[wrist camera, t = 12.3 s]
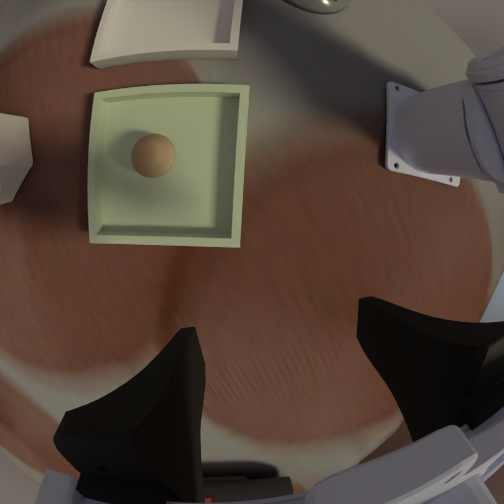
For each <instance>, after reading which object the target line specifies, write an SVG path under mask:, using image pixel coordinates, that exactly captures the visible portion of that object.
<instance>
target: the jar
mask: <svg viewBox="0 0 504 504" xmlns="http://www.w3.org/2000/svg"><path fill="white" fill-rule="evenodd" d="M32 165H33V157H32V149H31V141H30V132H29V120H28V118H27V117H22V116H16V115H10V114H4V113H0V205H1V204H4V203H9V202H12V201H13V199H14V197H15V195H16V193H17V191H18V189H19V187H20V185H21V184H22V182H23V180H24V178H25V177H26V175H27V173H28V171H29V170H30V168H31V166H32Z"/></svg>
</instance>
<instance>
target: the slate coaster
mask: <svg viewBox="0 0 504 504" xmlns="http://www.w3.org/2000/svg"><path fill="white" fill-rule="evenodd" d="M286 1H287V2H288V3H290V4H292V5H293V6H295V7H297V8H300V9H302V10H305V11H308V12H312V13H317V14H333V13H337V12H340V11H342V10H343V9H344V8H345V7H346V6H347V5H348V4H349V2H350V0H338V1H333V0H286Z"/></svg>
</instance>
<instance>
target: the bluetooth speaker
mask: <svg viewBox="0 0 504 504" xmlns="http://www.w3.org/2000/svg"><path fill="white" fill-rule="evenodd" d="M203 488H204V496H205V503H223V502H239V501H250V500H259V499H267V498H274V497H280V496H286V495H292V494H293V487H292V483H291V480H290V477H276V478H266V479H252V480H249V479H248V478H247V477H245V476H224V477H203Z"/></svg>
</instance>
